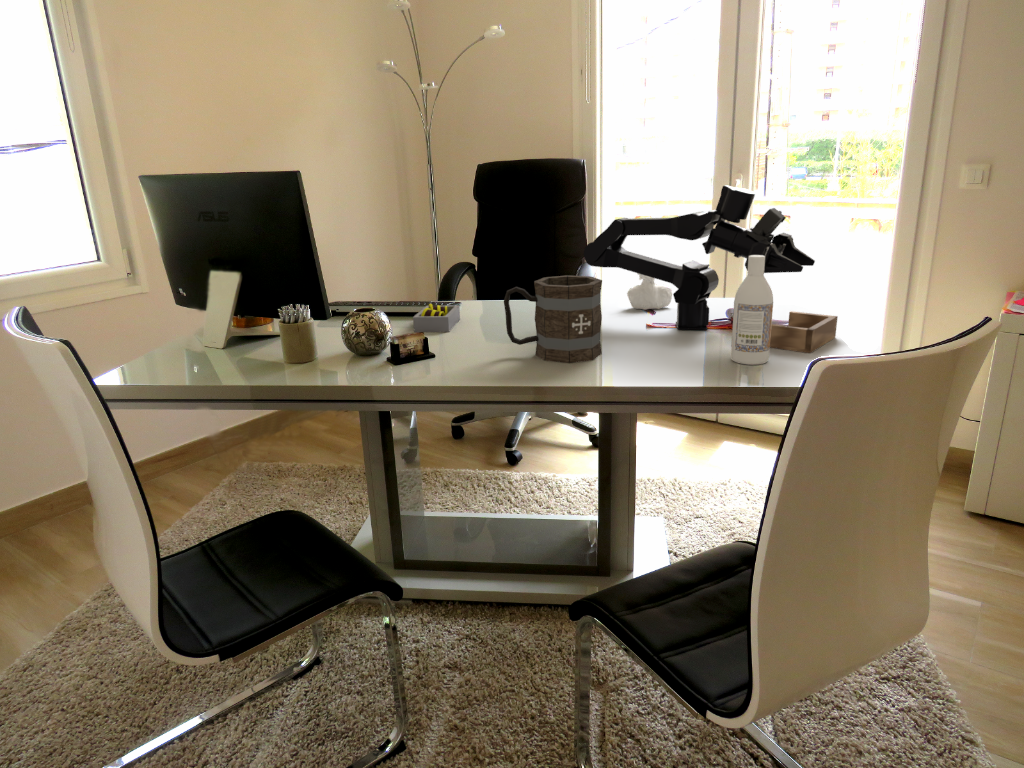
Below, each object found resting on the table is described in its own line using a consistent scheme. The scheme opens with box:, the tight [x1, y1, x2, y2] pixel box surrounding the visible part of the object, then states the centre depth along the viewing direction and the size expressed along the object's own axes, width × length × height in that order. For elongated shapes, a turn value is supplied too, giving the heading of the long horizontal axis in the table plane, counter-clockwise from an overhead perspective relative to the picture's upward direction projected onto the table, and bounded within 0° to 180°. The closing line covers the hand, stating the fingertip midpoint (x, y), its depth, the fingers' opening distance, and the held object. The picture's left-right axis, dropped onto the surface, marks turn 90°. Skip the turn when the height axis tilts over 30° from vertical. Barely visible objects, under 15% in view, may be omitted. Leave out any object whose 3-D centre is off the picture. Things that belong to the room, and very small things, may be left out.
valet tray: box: [412, 305, 461, 333], centre depth 176 cm, size 8×13×4 cm, turn 173°
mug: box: [503, 274, 603, 364], centre depth 146 cm, size 20×14×15 cm
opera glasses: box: [421, 303, 448, 316], centre depth 176 cm, size 10×5×5 cm, turn 175°
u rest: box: [770, 310, 838, 354], centre depth 151 cm, size 10×15×5 cm, turn 140°
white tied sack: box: [626, 273, 673, 310], centre depth 189 cm, size 12×8×11 cm
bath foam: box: [730, 255, 774, 366], centre depth 137 cm, size 7×7×20 cm
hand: (808, 266), depth 149 cm, fingers open, 9 cm apart
